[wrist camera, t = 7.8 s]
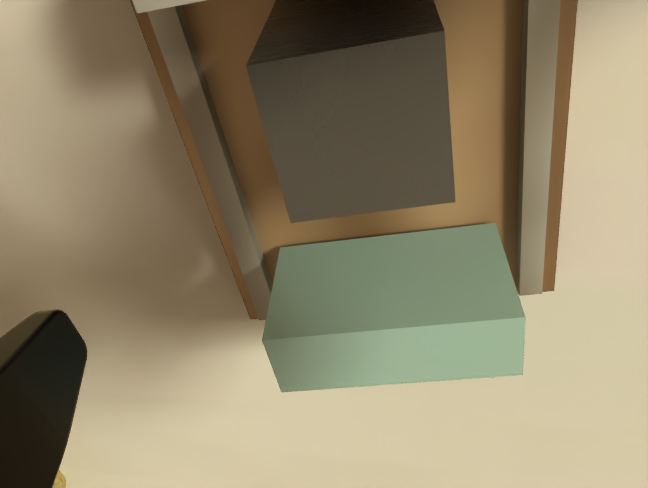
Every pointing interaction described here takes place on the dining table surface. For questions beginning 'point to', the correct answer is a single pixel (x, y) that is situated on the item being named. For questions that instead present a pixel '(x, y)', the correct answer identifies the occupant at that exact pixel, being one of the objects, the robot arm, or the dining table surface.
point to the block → (355, 105)
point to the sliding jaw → (394, 311)
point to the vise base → (465, 117)
